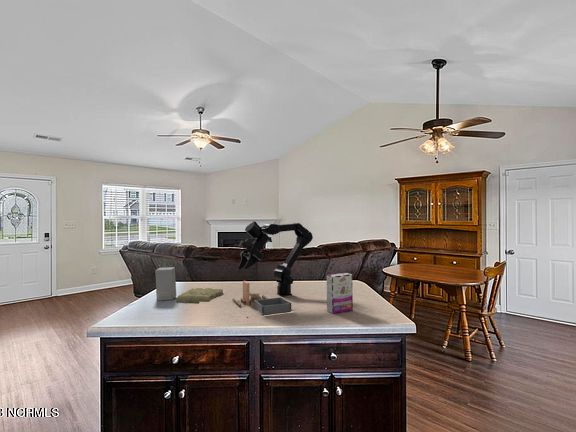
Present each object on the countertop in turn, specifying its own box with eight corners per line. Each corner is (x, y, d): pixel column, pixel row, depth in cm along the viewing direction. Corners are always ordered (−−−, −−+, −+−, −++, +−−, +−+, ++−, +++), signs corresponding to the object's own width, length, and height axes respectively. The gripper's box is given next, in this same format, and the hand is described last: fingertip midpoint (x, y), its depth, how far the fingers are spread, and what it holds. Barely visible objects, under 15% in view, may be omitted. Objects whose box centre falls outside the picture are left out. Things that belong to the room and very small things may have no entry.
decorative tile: (175, 302, 159) (175, 295, 159) (191, 293, 179) (191, 286, 179) (211, 304, 157) (211, 296, 157) (224, 294, 177) (224, 287, 177)
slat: (245, 301, 157) (245, 280, 157) (249, 304, 152) (249, 283, 152) (242, 301, 157) (242, 281, 157) (246, 304, 151) (246, 283, 151)
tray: (280, 305, 154) (280, 297, 154) (291, 311, 143) (291, 303, 143) (253, 308, 148) (253, 300, 148) (262, 315, 137) (262, 306, 137)
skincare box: (176, 297, 168) (176, 266, 169) (172, 300, 161) (172, 269, 161) (160, 297, 168) (160, 266, 168) (154, 300, 161) (155, 269, 161)
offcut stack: (257, 300, 160) (257, 291, 160) (260, 302, 155) (260, 294, 155) (249, 301, 158) (249, 292, 158) (252, 303, 153) (252, 294, 153)
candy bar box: (346, 308, 149) (346, 272, 149) (353, 310, 145) (353, 274, 145) (325, 311, 144) (326, 274, 144) (332, 314, 140) (332, 276, 140)
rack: (263, 299, 164) (263, 294, 164) (272, 305, 154) (272, 299, 154) (232, 302, 158) (232, 297, 158) (239, 309, 147) (239, 303, 147)
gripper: (241, 236, 171) (223, 260, 165) (253, 231, 155) (234, 258, 148) (257, 248, 174) (240, 272, 168) (271, 246, 158) (253, 272, 151)
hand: (241, 269), depth 159 cm, fingers open, 9 cm apart
